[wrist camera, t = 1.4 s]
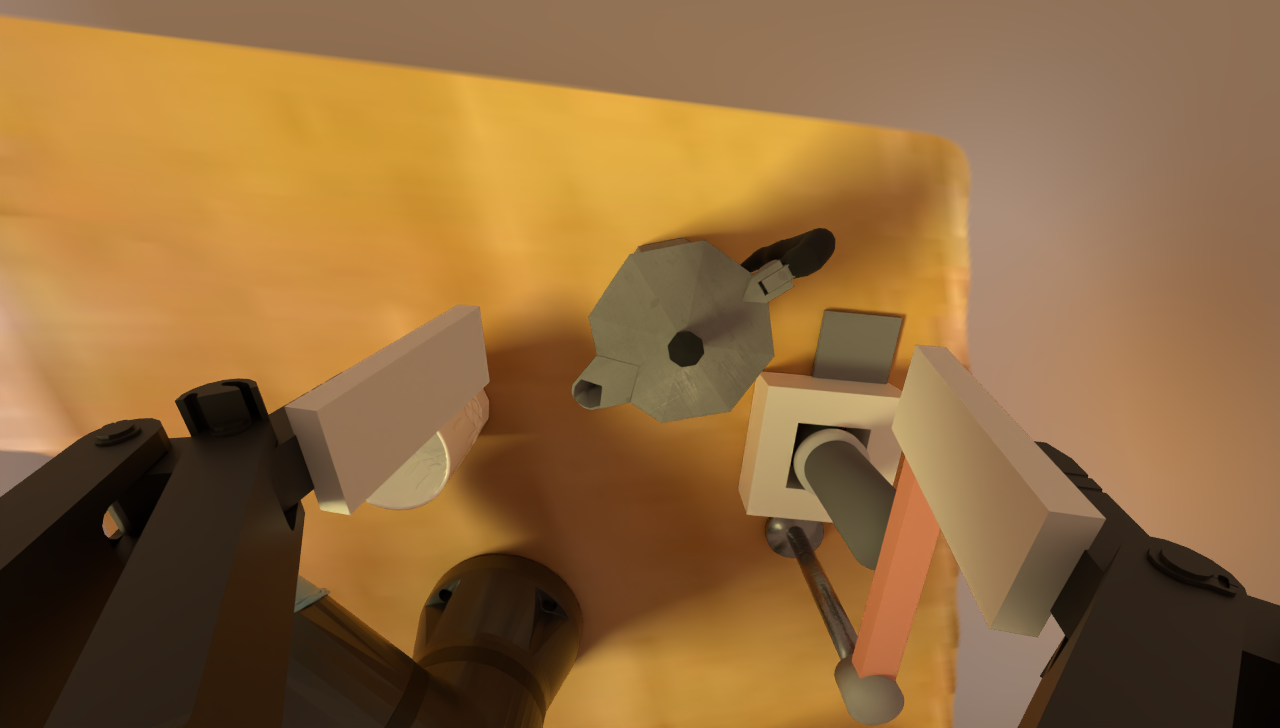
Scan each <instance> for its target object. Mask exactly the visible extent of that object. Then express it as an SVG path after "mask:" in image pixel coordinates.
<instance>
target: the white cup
mask: <svg viewBox="0 0 1280 728" xmlns="http://www.w3.org/2000/svg"><path fill="white" fill-rule="evenodd" d="M488 418H489V399H488V397H487V395H486V393H485V391H484V389H482V390H481V391H480V392H478V393H477V394H476V395H475V396H474V397H473V398H472V399H471V400H470V401H469V402H468V403H467V404H466V405H465V406H464V407H463V408H462V409H461V410H460V411H459V412H458V413H457V414H455V415H454V416H453V417H452V418H451V419H450V420H449V421H448V422H447V423H446V424H445V425H444V426H443V427H442V428H441V429H440V430H439V431H438V432H437V433H436V434H435V435H433V436H432V437H431V438H430V439H429V440H428V441H427V442H426V443H425V444H424V445H423V446H422V447H421V448H420V449H419V450H418V451H417V452H416V453H415V454H414V455H413V456H412V457H410V458H409V459H408V460H407V461H406V462H405V463H404V464H403V465H402V466H401V467H400V468H399V469H398V470H397V471H396V472H395V473H394V474H393V475H392V476H391V477H390V478H388V479H387V480H386V481H385V482H384V483H383V484H382V485H381V486H380V487H379V488H378V489H377V490H376V491H375V492H374V493H373V494H372V495H371V496H370V497H369V498H368V499H367V500H365V501H366V502H368V503H370V504H373V505H375V506H378V507H381V508H385V509H391V510H408V509H414V508H417V507H420V506H423V505H425V504H427V503H428V502H430V501H432V500H433V499H434V498H435V497H436V496H438V494H439V493H440V492H441V491H442V490H443V488H444V487H445V485H446V484H447V482H448V481H449V480H450V478H451V477H452V475H453V474H454V472H455V471H456V470H457V468H458V467H459V465H460V464H461V463H462V461H463V460H464V458H465V457H466V455H467V453H468V452H469V451H470V449H471V448H472V446H473V444H474V443H475V441H476V440H477V438H478V435H479V434H480V432H481V430H482V429H483V427H484V425H485V424H486V422H487V420H488Z"/></svg>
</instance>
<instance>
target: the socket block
mask: <svg viewBox="0 0 1280 728" xmlns="http://www.w3.org/2000/svg"><path fill="white" fill-rule="evenodd" d="M901 394H902V391H901V390H900V389H898V388H897V387H895V386H893V385H892V384H890V383H887V384H877V383H866V382H855V381H844V380H834V379H823V378H813V377H812V376H808V375H797V374H786V373H775V372H765V371H762V372H761V373H760V375H759V376H758V377H757V378H756V382H755V388H754V394H753V401H752V407H751V413H750V419H749V425H748V431H747V437H746V444H745V450H744V456H743V462H742V468H741V474H740V480H739V486H738V490H739V493H740V496H741V499H742V502H743V505H744V508H745V511H746V514H747V515H756V516H767V517H777V518H788V519H799V520H810V521H821V522H832V520H831V518H830V517H829V515H828V513H827V512H826V510H825V509H824V507H823V505H822V504H821V502H820V501H819V499H818V497H817V496H814V495H812V494H811V493H809V492H808V491H807V490H806V489H805V488H804V487H803V486H802V484H801V483H800V481H799V479H798V477H797V475H796V473H795V470H794V466H790V463H791V458H792V453H793V448H794V442H795V437H796V432H797V427H798V423H806V424H817V425H828V426H839V427H847V428H846V432H849V433H850V434H852V435H853V436H855V437H856V438H857V439H858V440H859V441H860V442H861V443H862V444H863V445H864V447H865V448H866V450H867V452H868V454H869V457H870V463H871V464H872V465H873V466H874V467H875V468H876V469H877V470H878V471H879V472H880V473H881V474H882V476H883V477H884V478H885V479H886V480H887V481H888V482H889V483H890V484H891V485H892V486H893V483H894V479H895V476H896V472H897V468H898V464H899V460H900V456H901V453H902V449H901V447H900V445H899V443H898V441H897V439H896V437H895V435H894V433H893V431H892V425H893V422H894V418H895V415H896V411H897V408H898V404H899V401H900V397H901ZM832 523H833V522H832Z"/></svg>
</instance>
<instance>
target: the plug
mask: <svg viewBox="0 0 1280 728" xmlns="http://www.w3.org/2000/svg"><path fill="white" fill-rule="evenodd" d="M792 457H793V459H794V470H795V473H796V475H797V477H798V479H799V481H800V483H801V484H802V486H803V487H804V488H805V489H806V490H807V491H808V492H809V493H811V494H812V495H814V496H817V497H818V499H819V501H820V502H821V504H822V505H823V507H824V509H825V510H826V512H827V513H828V515H829V517H830V518H831V520H832V522H833V523H834V525H835V526H836V528H837V530H838V531H839V533H840V534H841V536H842V538H843V539H844V541H845V542H846V544H847V546H848V547H849V549H850V550H851V552H852V554H853V555H854V557H855V558H856V560H857V561H858V562H859V563H860V564H862V565H863V566H865V567H867V568H869V569H872V570H876V566H877V562H878V559H879V555H880V551H881V547H882V543H883V540H884V536H885V532H886V528H887V524H888V521H889V517H890V513H891V509H892V506H893V502H894V498H895V494H896V489H895V488H894V487H893V486H892V485H891V484H890V483H889V482H888V481H887V480H886V479H885V478H884V477H883V476H882V474H881V473H880V472H879V471H878V470H877V469H876V468H875V467H874V466H873V465H872V464H871V463H870V457H869V454H868V452H867V450H866V448H865V447H864V445H863V444H862V443H861V442H860V441H859V440H858V439H857V438H856V437H855V436H853V435H852V434H850V433H849V432H846V431H844V430H840V429H838V428H837V427H836V426H828V425H817V424H806V423H798V427H797V432H796V437H795V442H794V448H793V453H792Z"/></svg>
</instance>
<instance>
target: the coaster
mask: <svg viewBox="0 0 1280 728" xmlns="http://www.w3.org/2000/svg"><path fill="white" fill-rule="evenodd" d="M901 322H902V318H901V317H893V316H883V315H872V314H861V313H850V312H840V311H829V310H824V314H823V319H822V325H821V330H820V335H819V340H818V345H817V350H816V355H815V360H814V366H813V371H812V377H813V378H823V379H834V380H844V381H855V382H866V383H877V384H887V380H888V376H889V372H890V368H891V364H892V359H893V355H894V351H895V347H896V343H897V339H898V335H899V330H900V326H901Z"/></svg>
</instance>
